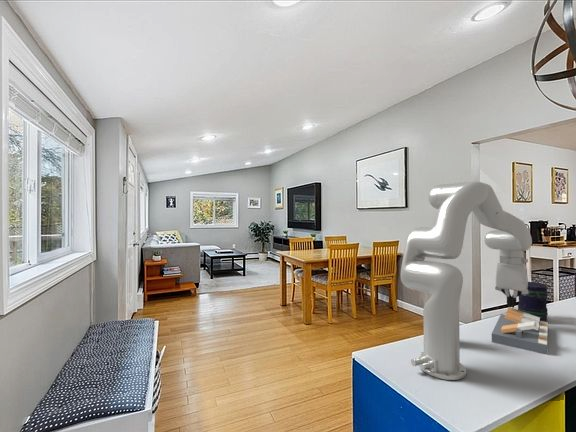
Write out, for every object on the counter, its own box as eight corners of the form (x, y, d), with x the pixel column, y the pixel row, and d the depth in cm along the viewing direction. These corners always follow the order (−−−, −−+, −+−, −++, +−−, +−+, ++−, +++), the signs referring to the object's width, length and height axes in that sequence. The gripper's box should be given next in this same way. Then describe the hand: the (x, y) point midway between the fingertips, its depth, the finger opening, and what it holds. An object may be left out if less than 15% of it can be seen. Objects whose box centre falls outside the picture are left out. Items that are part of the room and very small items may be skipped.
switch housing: (547, 354, 96) (547, 339, 96) (491, 341, 106) (491, 327, 106) (548, 329, 116) (548, 317, 116) (501, 321, 126) (500, 309, 126)
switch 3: (537, 330, 100) (534, 324, 101) (503, 335, 106) (500, 329, 107) (537, 326, 104) (534, 321, 104) (505, 331, 110) (502, 325, 110)
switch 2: (537, 332, 106) (538, 327, 106) (503, 320, 113) (505, 315, 112) (537, 328, 110) (539, 323, 109) (505, 316, 116) (506, 311, 116)
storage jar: (512, 317, 130) (512, 282, 130) (526, 313, 134) (526, 280, 134) (539, 324, 121) (539, 288, 121) (553, 321, 125) (552, 285, 125)
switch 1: (538, 325, 112) (539, 320, 112) (506, 314, 119) (507, 309, 118) (538, 322, 116) (539, 317, 115) (507, 311, 122) (508, 306, 122)
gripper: (535, 261, 117) (536, 307, 117) (490, 257, 127) (490, 300, 127) (535, 264, 111) (535, 313, 112) (487, 260, 121) (487, 305, 122)
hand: (511, 306), depth 119 cm, fingers closed
